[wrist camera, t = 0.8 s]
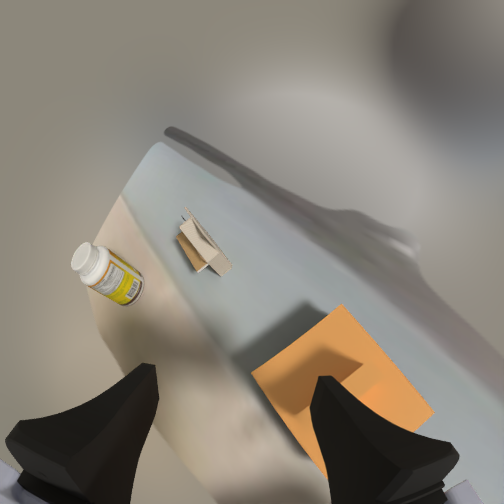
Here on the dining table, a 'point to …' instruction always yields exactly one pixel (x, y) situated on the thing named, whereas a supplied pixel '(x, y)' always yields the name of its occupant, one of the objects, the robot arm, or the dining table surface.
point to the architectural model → (201, 247)
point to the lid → (338, 378)
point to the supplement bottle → (107, 274)
